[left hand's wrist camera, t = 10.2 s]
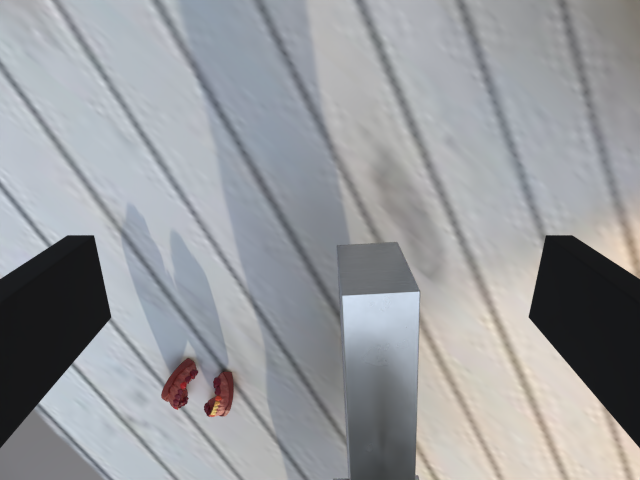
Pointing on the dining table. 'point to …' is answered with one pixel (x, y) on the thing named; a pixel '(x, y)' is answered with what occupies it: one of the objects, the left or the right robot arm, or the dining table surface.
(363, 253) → the bar
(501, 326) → the dining table surface
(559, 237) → the left robot arm
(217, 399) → the dental model
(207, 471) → the dining table surface
